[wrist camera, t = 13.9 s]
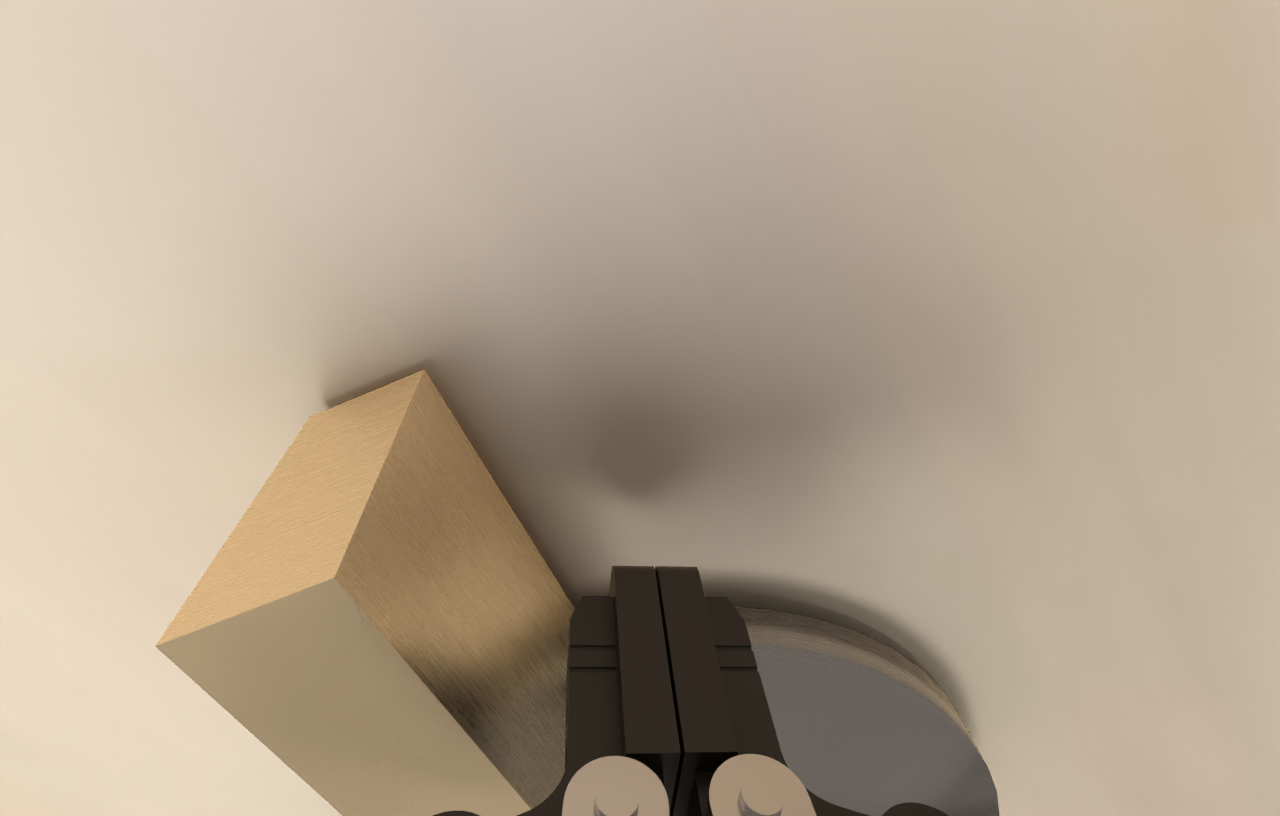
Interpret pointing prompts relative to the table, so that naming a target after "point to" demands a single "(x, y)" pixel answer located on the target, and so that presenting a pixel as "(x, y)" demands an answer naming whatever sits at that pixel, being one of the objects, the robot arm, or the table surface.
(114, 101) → the table surface
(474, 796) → the platter
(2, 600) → the table surface
